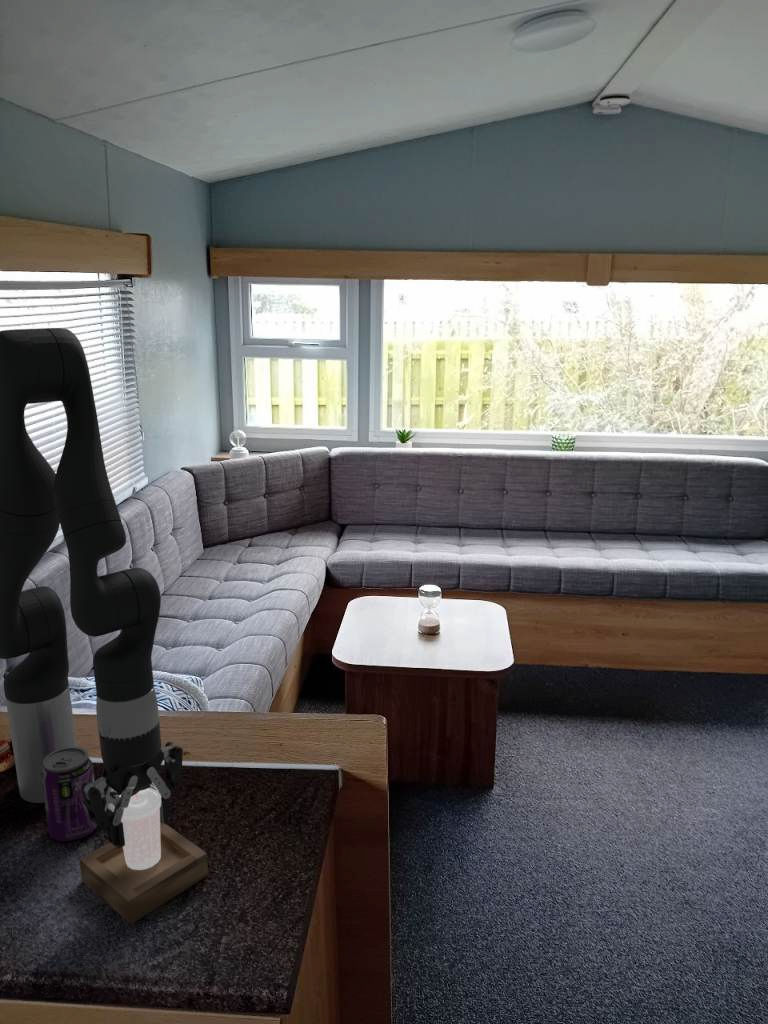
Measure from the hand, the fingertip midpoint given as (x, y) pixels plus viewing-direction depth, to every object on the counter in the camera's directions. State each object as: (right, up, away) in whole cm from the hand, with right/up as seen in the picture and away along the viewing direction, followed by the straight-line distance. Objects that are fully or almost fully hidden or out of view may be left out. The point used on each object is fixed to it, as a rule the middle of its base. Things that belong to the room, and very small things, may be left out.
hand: (140, 832), depth 114 cm
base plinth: (0, -7, +2) cm, 7 cm away
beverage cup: (0, -4, +1) cm, 4 cm away
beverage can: (-13, -4, +12) cm, 19 cm away
